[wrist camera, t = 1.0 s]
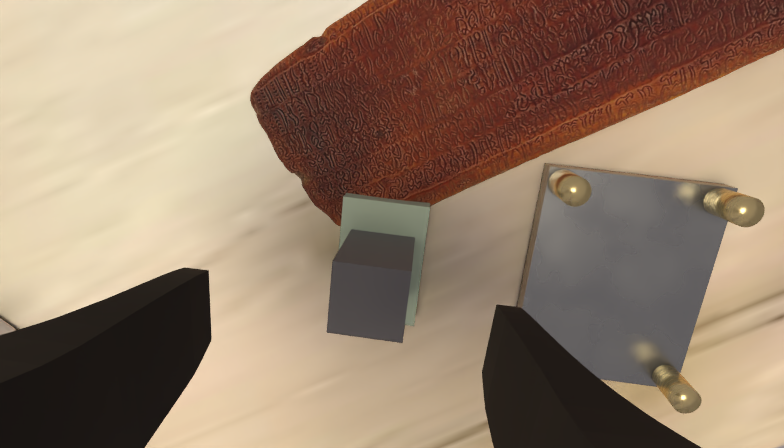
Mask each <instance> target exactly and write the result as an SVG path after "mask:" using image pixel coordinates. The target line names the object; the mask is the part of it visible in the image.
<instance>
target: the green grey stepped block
mask: <svg viewBox="0 0 784 448" xmlns="http://www.w3.org/2000/svg"><path fill="white" fill-rule="evenodd" d="M429 212H430V203H426V202H414V201H403V200H395V199H387V198H380V197H372V196H365V195H358V194H350V193H346V194H345V195H344V196H343V206H342V218H341V230H340V242H339V251H338V253H337V254H336V256H335V258H334V260H333V262H332V274H331V287H330V299H329V312H328V324H327V333H334V334H341V335H349V336H356V337H363V338H370V339H377V340H385V341H392V342H399V343H403V335H404V327H405V325H410V326H414V323H415V315H416V308H417V301H418V293H419V286H420V279H421V271H422V264H423V256H424V249H425V242H426V234H427V227H428V220H429Z"/></svg>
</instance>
